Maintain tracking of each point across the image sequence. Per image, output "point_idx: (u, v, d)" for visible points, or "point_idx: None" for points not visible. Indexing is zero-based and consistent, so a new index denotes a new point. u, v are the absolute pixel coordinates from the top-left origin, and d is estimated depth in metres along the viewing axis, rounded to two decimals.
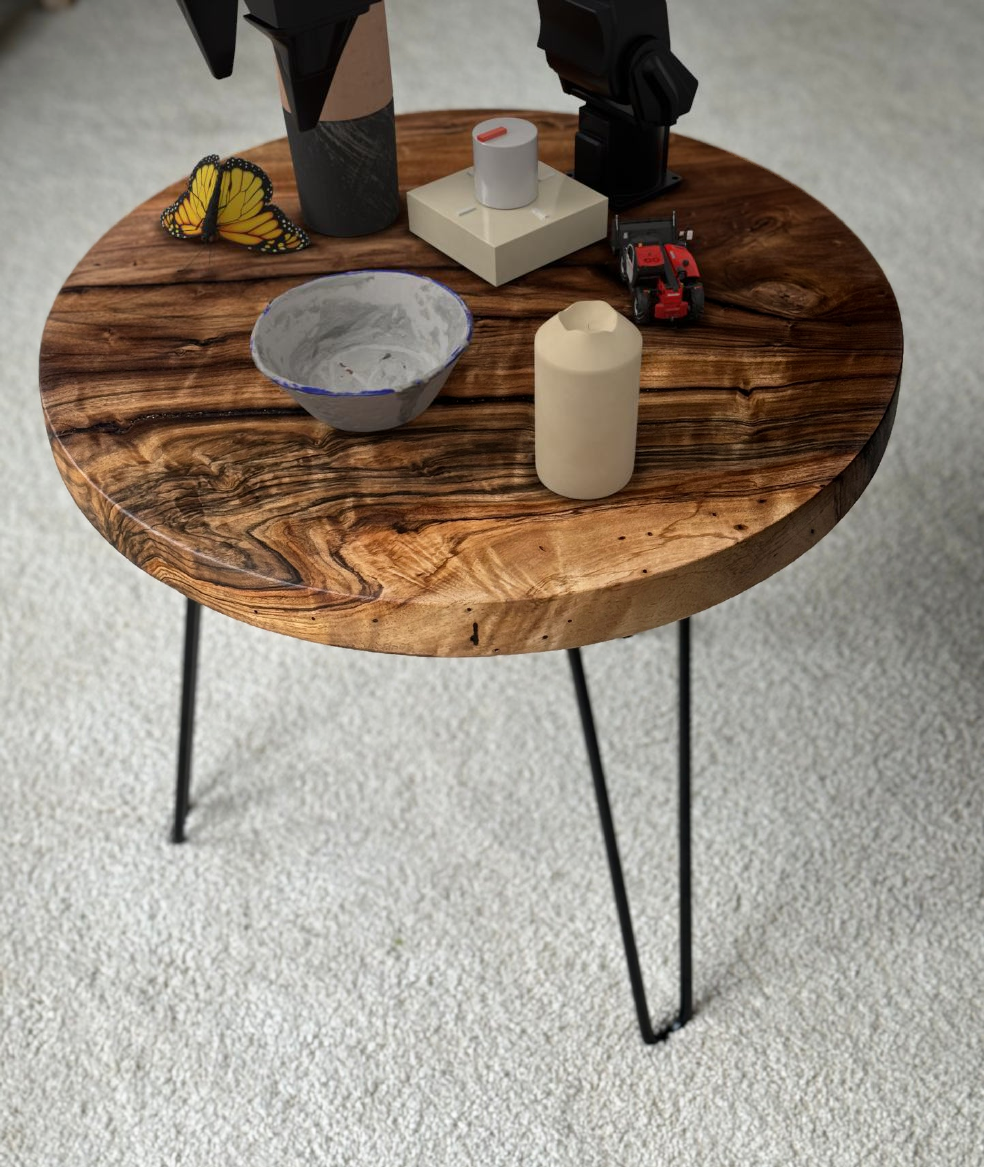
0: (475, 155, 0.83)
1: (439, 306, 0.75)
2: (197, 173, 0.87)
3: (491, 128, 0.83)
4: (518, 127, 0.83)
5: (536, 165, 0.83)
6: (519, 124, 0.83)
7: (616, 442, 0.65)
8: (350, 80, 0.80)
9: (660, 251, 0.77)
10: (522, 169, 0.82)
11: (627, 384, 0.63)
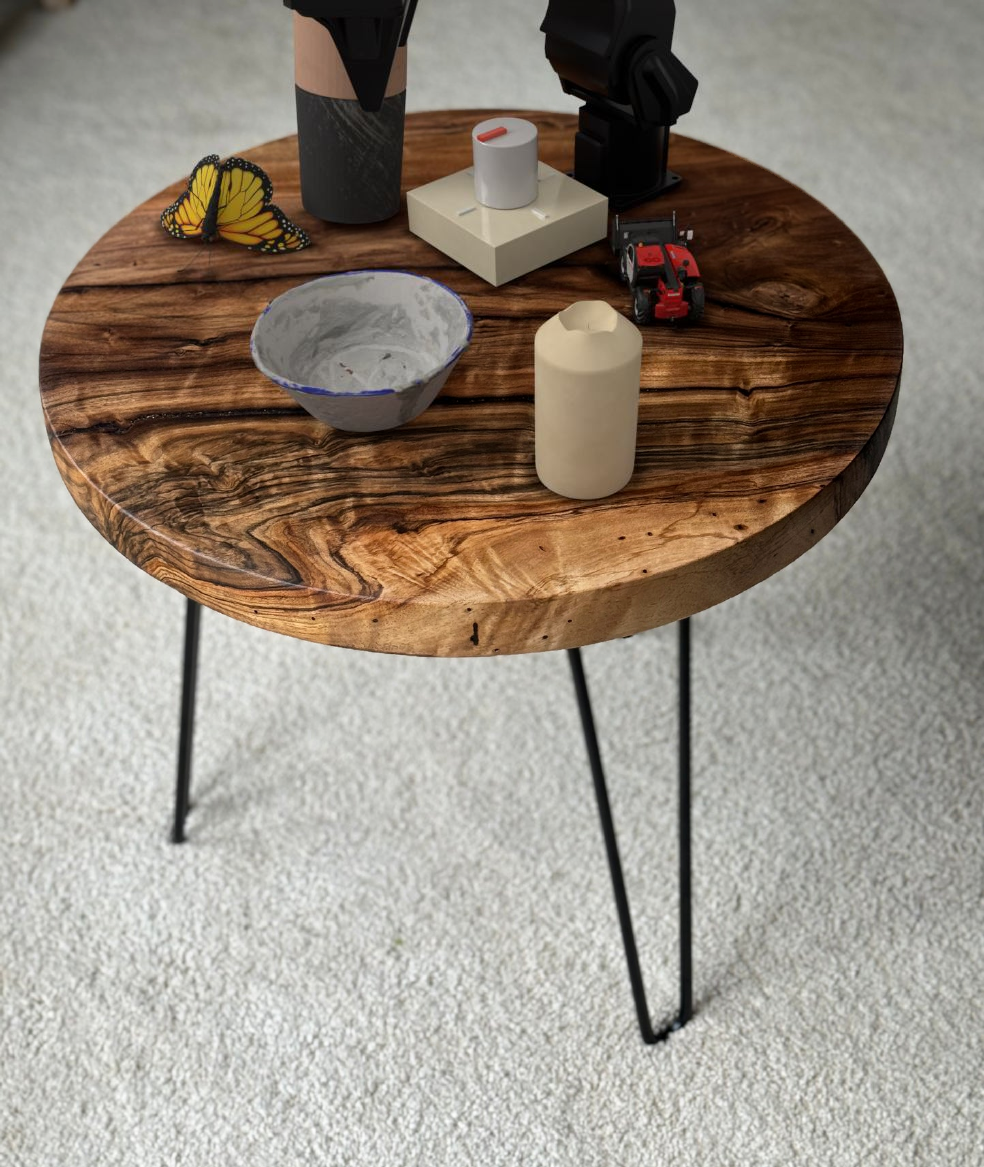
0: (475, 155, 0.83)
1: (439, 306, 0.75)
2: (197, 173, 0.87)
3: (491, 128, 0.83)
4: (518, 127, 0.83)
5: (536, 165, 0.83)
6: (519, 124, 0.83)
7: (616, 442, 0.65)
8: None
9: (660, 251, 0.77)
10: (522, 169, 0.82)
11: (627, 384, 0.63)
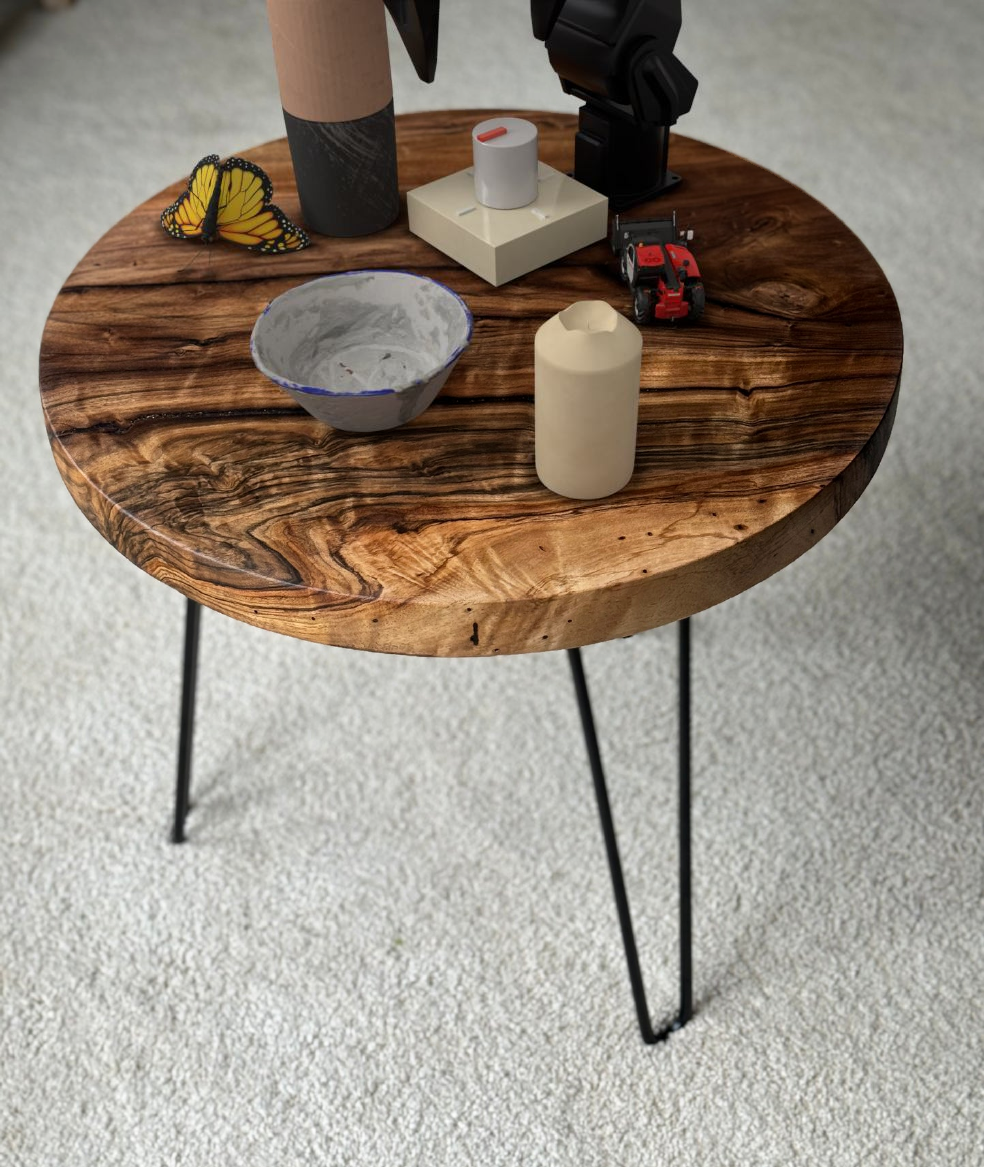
0: (475, 155, 0.83)
1: (439, 306, 0.75)
2: (197, 173, 0.87)
3: (491, 128, 0.83)
4: (518, 127, 0.83)
5: (536, 165, 0.83)
6: (519, 124, 0.83)
7: (616, 442, 0.65)
8: (349, 81, 0.80)
9: (661, 251, 0.77)
10: (522, 169, 0.82)
11: (627, 384, 0.63)
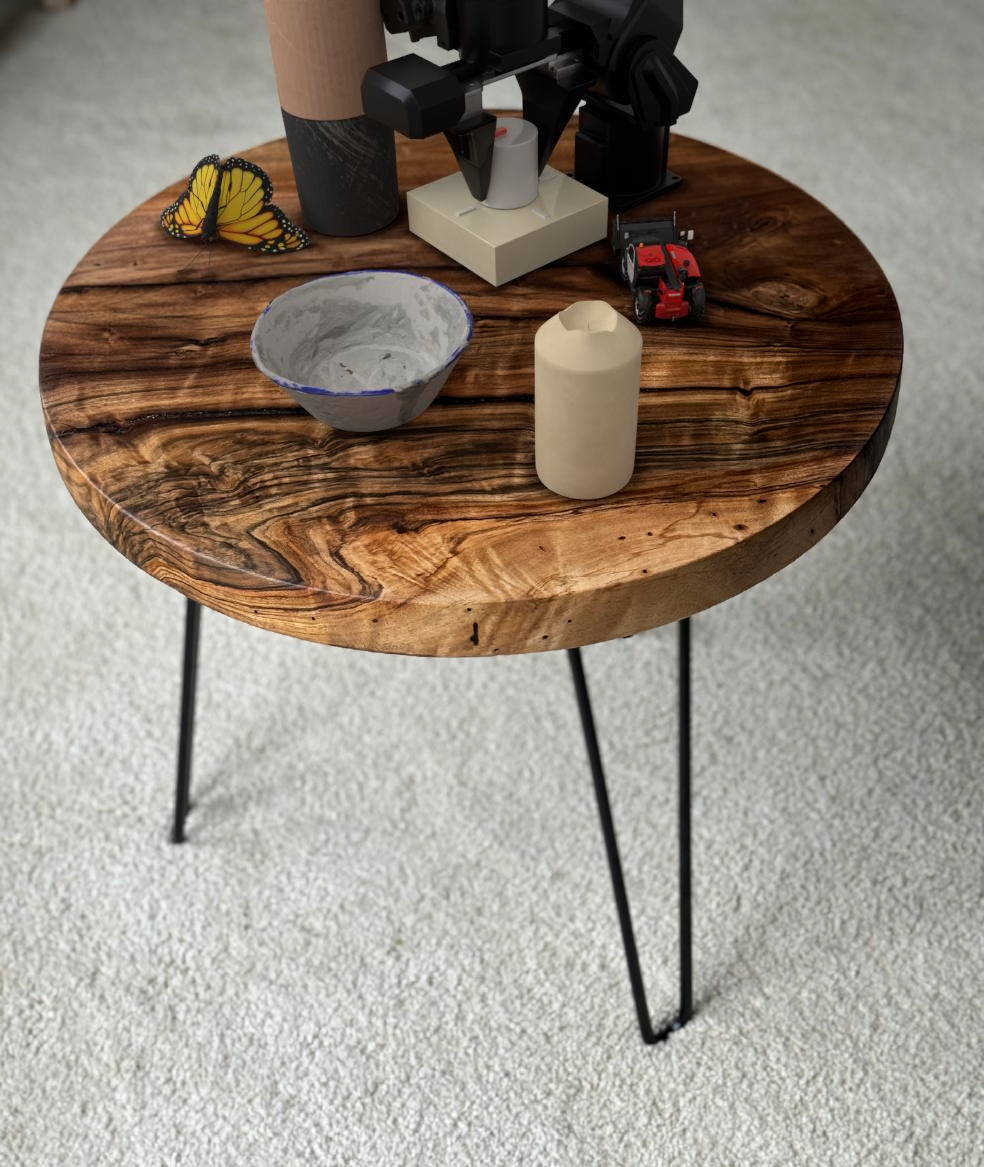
0: None
1: (439, 306, 0.75)
2: (197, 173, 0.87)
3: None
4: (518, 127, 0.83)
5: (536, 165, 0.83)
6: (519, 124, 0.83)
7: (616, 442, 0.65)
8: (347, 79, 0.80)
9: (661, 251, 0.77)
10: (522, 169, 0.82)
11: (627, 384, 0.63)
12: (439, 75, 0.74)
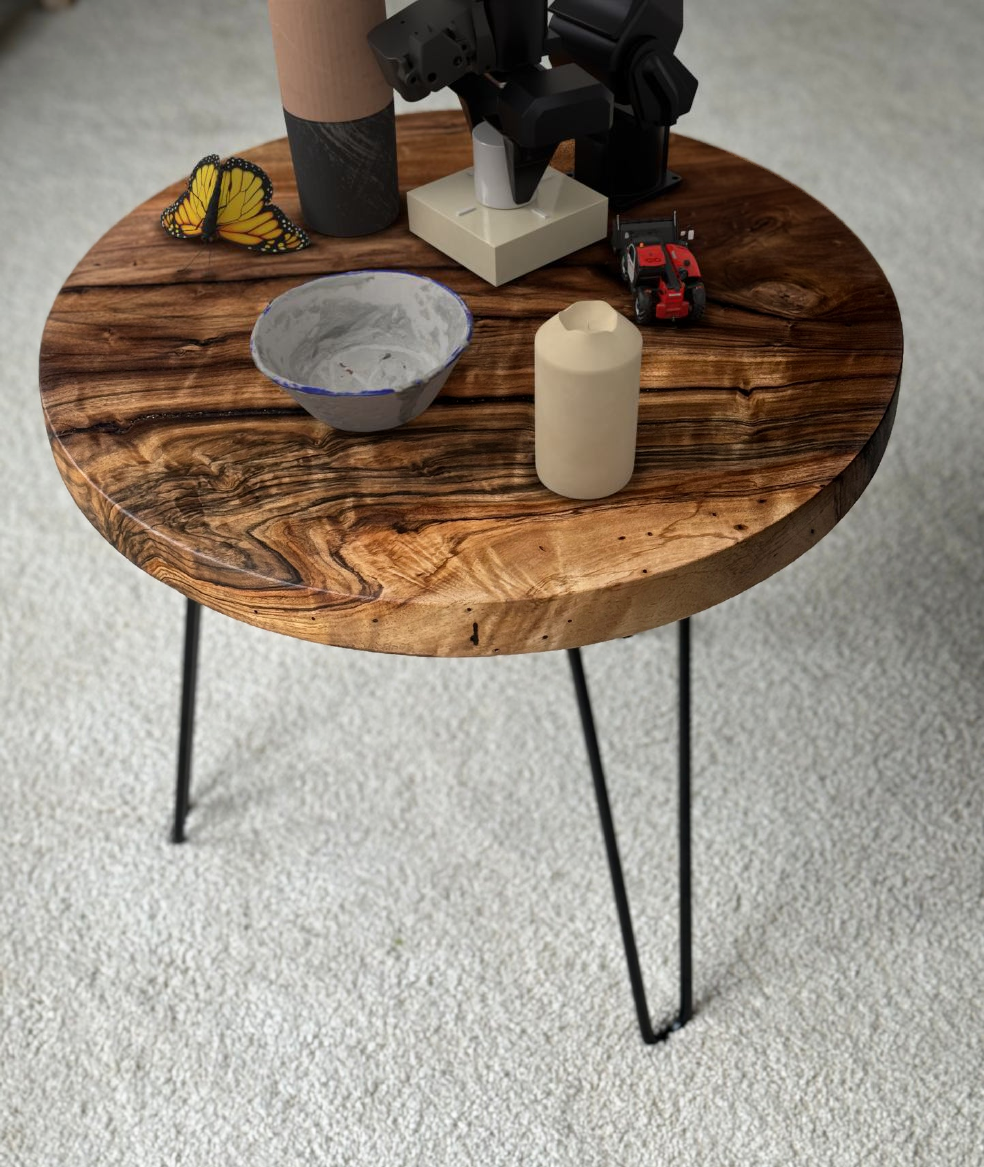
0: None
1: (439, 306, 0.75)
2: (197, 173, 0.87)
3: (495, 136, 0.82)
4: None
5: None
6: None
7: (616, 442, 0.65)
8: (350, 81, 0.80)
9: (661, 251, 0.77)
10: None
11: (627, 384, 0.63)
12: (573, 69, 0.74)
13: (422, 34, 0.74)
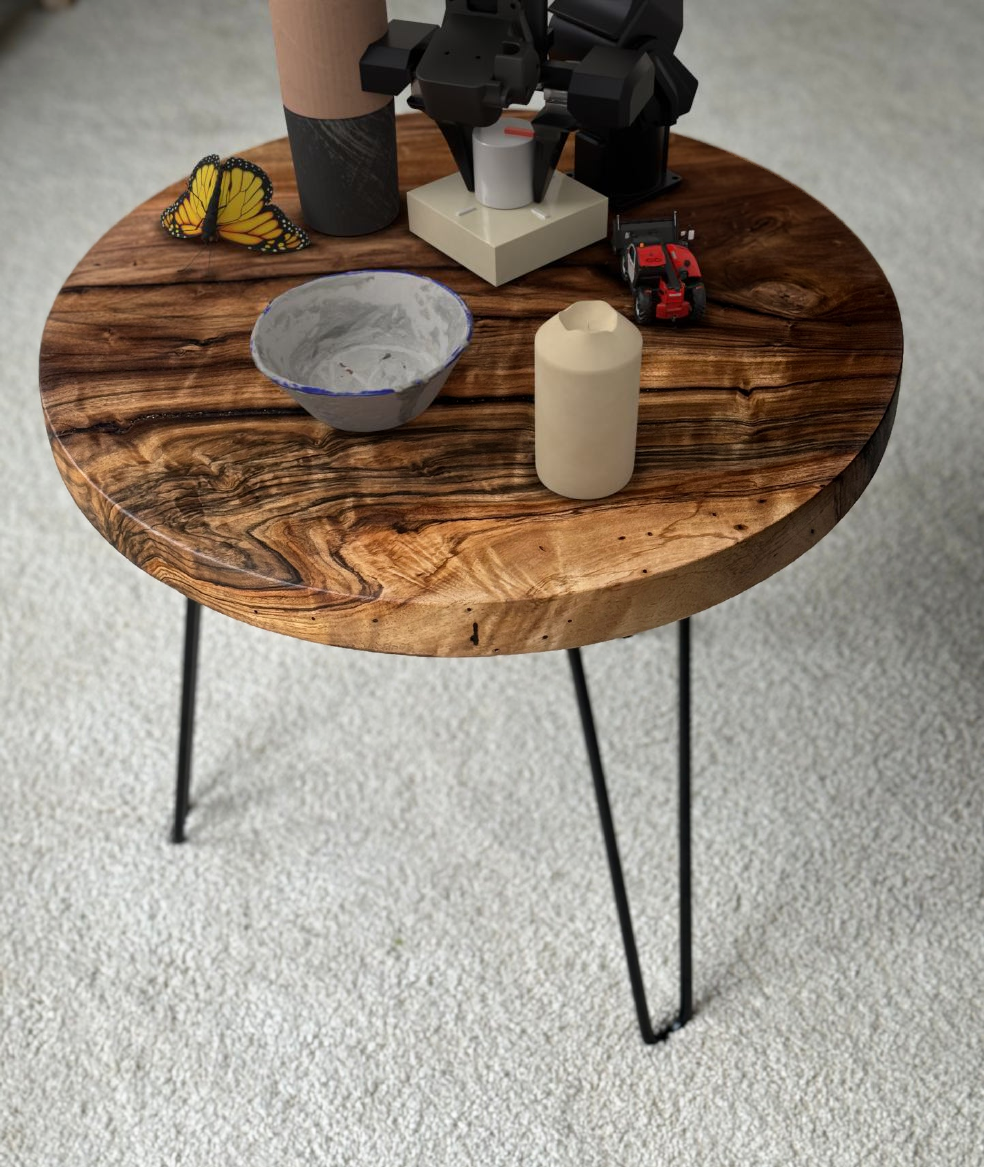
0: (531, 157, 0.82)
1: (439, 306, 0.75)
2: (197, 173, 0.87)
3: (505, 138, 0.82)
4: (491, 128, 0.83)
5: None
6: (485, 129, 0.83)
7: (616, 442, 0.65)
8: (350, 78, 0.80)
9: (662, 251, 0.77)
10: None
11: (627, 384, 0.63)
12: (605, 49, 0.78)
13: (487, 55, 0.73)
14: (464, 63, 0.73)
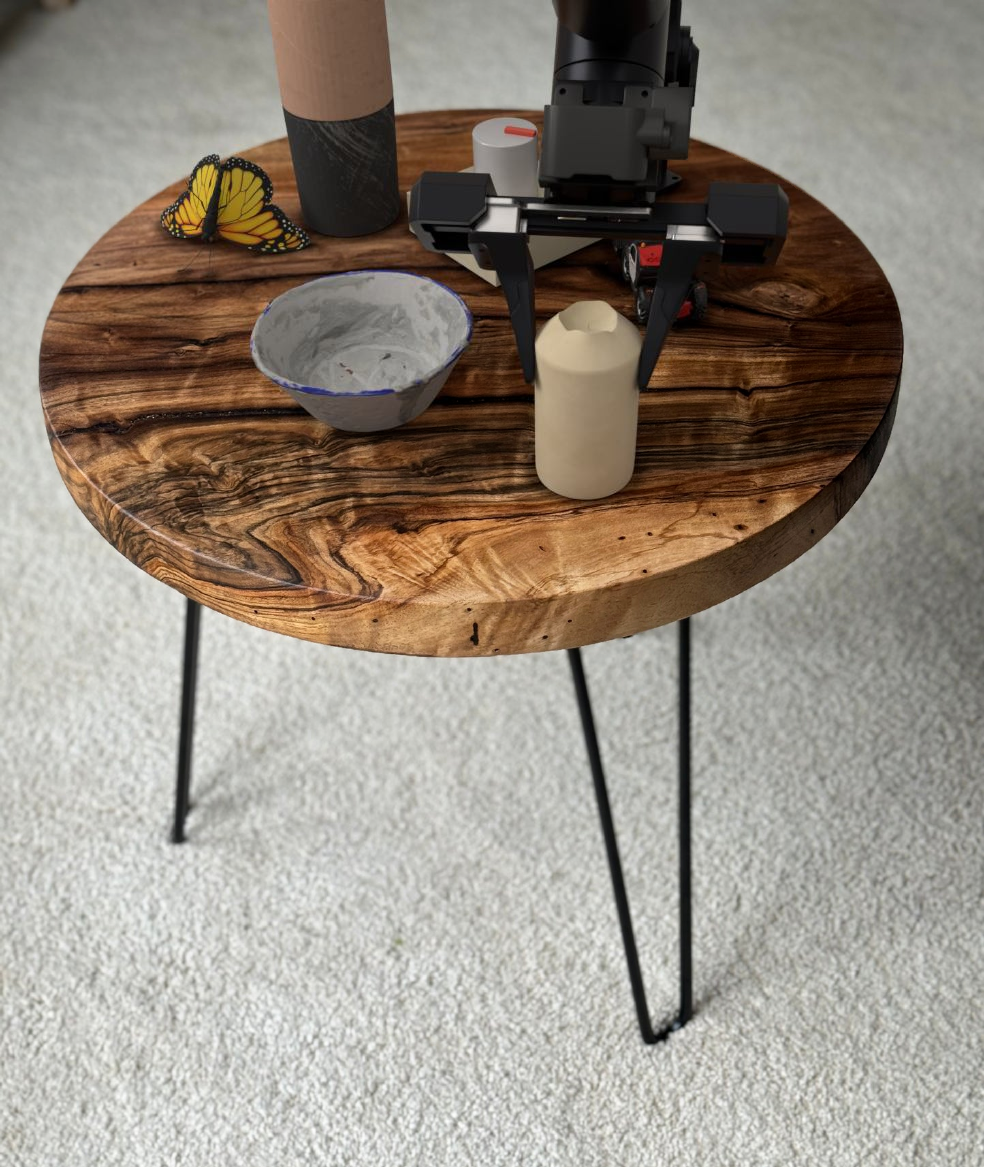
0: (531, 157, 0.82)
1: (439, 306, 0.75)
2: (197, 172, 0.87)
3: (505, 138, 0.82)
4: (491, 128, 0.83)
5: None
6: (485, 129, 0.83)
7: (616, 443, 0.65)
8: (349, 80, 0.80)
9: None
10: None
11: (627, 384, 0.63)
12: None
13: None
14: None
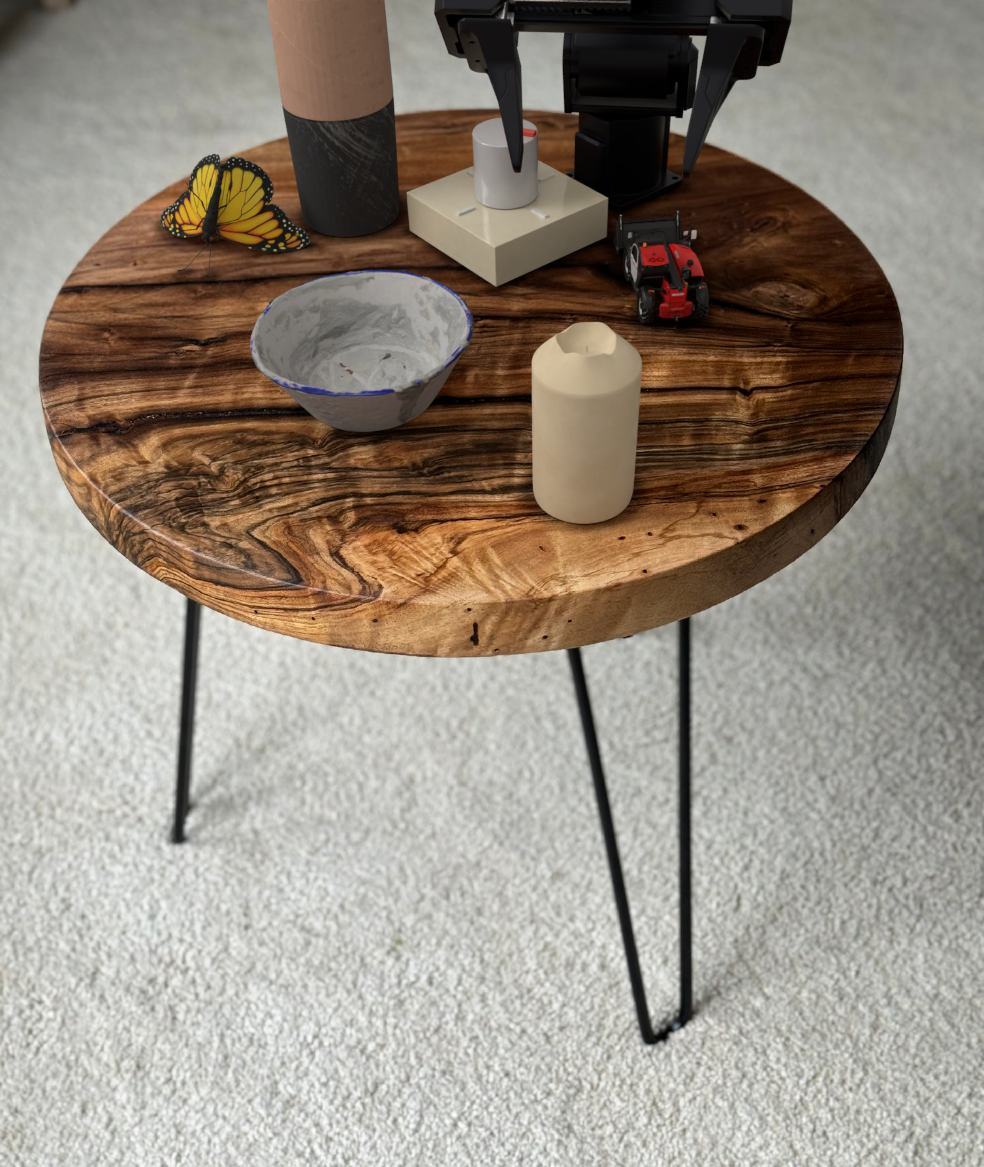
0: (531, 157, 0.82)
1: (439, 306, 0.75)
2: (197, 172, 0.87)
3: (505, 138, 0.82)
4: (491, 128, 0.83)
5: None
6: (485, 129, 0.83)
7: (615, 467, 0.63)
8: (349, 80, 0.80)
9: (664, 251, 0.77)
10: None
11: (626, 407, 0.61)
12: None
13: None
14: None
